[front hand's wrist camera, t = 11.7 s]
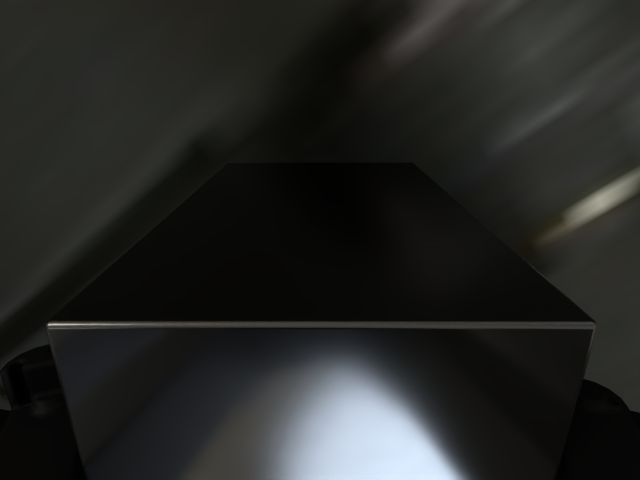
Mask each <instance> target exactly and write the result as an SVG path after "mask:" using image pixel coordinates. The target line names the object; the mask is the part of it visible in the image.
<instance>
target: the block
mask: <svg viewBox="0 0 640 480" xmlns="http://www.w3.org/2000/svg"><path fill="white" fill-rule="evenodd" d="M45 329H46V333H47V337H48V341H49V344H50V348H51V352H52V355H53V359H54V363H55V366H56V370H57V374H58V378H59V381H60V385H61V389H62V392H63V396H64V400H65V404H66V407H67V411H68V415H69V418H70V422H71V426H72V429H73V433H74V437H75V441H76V444H77V448H78V452H79V455H80V459H81V463H82V466H83V470H84V474H85V478H86V480H556V477H557V473H558V470H559V466H560V462H561V459H562V455H563V451H564V447H565V444H566V440H567V436H568V433H569V429H570V425H571V422H572V418H573V414H574V411H575V407H576V403H577V400H578V396H579V392H580V389H581V385H582V381H583V378H584V374H585V370H586V367H587V363H588V359H589V356H590V352H591V348H592V345H593V341H594V337H595V334H596V330H597V325H596V322H595V321H594V320H593V319H592V318H591V317H590V316H589V315H587V314H586V313H585V312H584V311H583V310H582V309H580V308H579V307H578V306H577V305H576V304H575V303H574V302H572V301H571V300H570V299H569V298H568V297H567V296H566V295H564V294H563V293H562V292H561V291H560V290H559V289H557V288H556V287H555V286H554V285H553V284H552V283H551V282H549V281H548V280H547V279H546V278H545V277H544V276H543V275H541V274H540V273H539V272H538V271H537V270H536V269H534V268H533V267H532V266H531V265H530V264H529V263H528V262H526V261H525V260H524V259H523V258H522V257H521V256H520V255H518V254H517V253H516V252H515V251H514V250H513V249H511V248H510V247H509V246H508V245H507V244H506V243H505V242H503V241H502V240H501V239H500V238H499V237H498V236H497V235H495V234H494V233H493V232H492V231H491V230H490V229H488V228H487V227H486V226H485V225H484V224H483V223H482V222H480V221H479V220H478V219H477V218H476V217H475V216H474V215H472V214H471V213H470V212H469V211H468V210H467V209H465V208H464V207H463V206H462V205H461V204H460V203H459V202H457V201H456V200H455V199H454V198H453V197H452V196H451V195H449V194H448V193H447V192H446V191H445V190H444V189H442V188H441V187H440V186H439V185H438V184H437V183H436V182H434V181H433V180H432V179H431V178H430V177H429V176H428V175H426V174H425V173H424V172H423V171H422V170H421V169H419V168H418V167H417V166H416V165H415V164H414V163H227V164H226V165H225V166H224V167H222V168H221V169H220V170H219V171H218V172H217V173H216V174H214V175H213V176H212V177H211V178H210V179H209V180H208V181H206V182H205V183H204V184H203V185H202V186H201V187H200V188H198V189H197V190H196V191H195V192H194V193H193V194H192V195H190V196H189V197H188V198H187V199H186V200H185V201H184V202H182V203H181V204H180V205H179V206H178V207H177V208H176V209H174V210H173V211H172V212H171V213H170V214H169V215H168V216H167V217H165V218H164V219H163V220H162V221H161V222H160V223H159V224H157V225H156V226H155V227H154V228H153V229H152V230H151V231H149V232H148V233H147V234H146V235H145V236H144V237H143V238H141V239H140V240H139V241H138V242H137V243H136V244H135V245H133V246H132V247H131V248H130V249H129V250H128V251H127V252H125V253H124V254H123V255H122V256H121V257H120V258H119V259H117V260H116V261H115V262H114V263H113V264H112V265H111V266H109V267H108V268H107V269H106V270H105V271H104V272H103V273H101V274H100V275H99V276H98V277H97V278H96V279H95V280H94V281H92V282H91V283H90V284H89V285H88V286H87V287H86V288H84V289H83V290H82V291H81V292H80V293H79V294H78V295H76V296H75V297H74V298H73V299H72V300H71V301H70V302H68V303H67V304H66V305H65V306H64V307H63V308H62V309H60V310H59V311H58V312H57V313H56V314H55V315H54V316H52V317H51V318H50V319H49V320H48V321H47V323H46V326H45Z"/></svg>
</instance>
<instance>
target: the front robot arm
mask: <svg viewBox="0 0 640 480" xmlns="http://www.w3.org/2000/svg"><path fill="white" fill-rule="evenodd" d="M0 375H1V378H2V381H3V384H4V387H5V390H6V393H7V396H8V399H9V402H10V405H11V408H12V409H11V411H8V410H2V409H0V480H86V478H85V474H84V470H83V466H82V463H81V459H80V455H79V452H78V448H77V444H76V441H75V437H74V433H73V429H72V426H71V422H70V418H69V415H68V411H67V407H66V404H65V400H64V396H63V392H62V389H61V385H60V381H59V378H58V374H57V370H56V366H55V363H54V359H53V355H52V352H51V348H50V344H49V345H45V346H41V347H37V348H34V349H32V350H29V351H27V352H25V353H22V354H20V355H19V356H17V357H15V358H14V359H12V360H11V361H9V362H8V363H7V364H6V365H5V366H4V367H3V368H2V370H1V371H0ZM556 480H640V413H638V412H634V411H630V410H629V408H628V407H627V405H626V404H625V403H624V401H623V400H622V399H621V398H620V397H619V396H617V395H616V394H615V393H614V392H612V391H611V390H610V389H608V388H606V387H604V386H602V385H600V384H598V383H595V382H592V381H589V380H586V379H583V381H582V385H581V389H580V392H579V396H578V400H577V403H576V407H575V411H574V414H573V418H572V422H571V425H570V429H569V433H568V436H567V440H566V444H565V447H564V451H563V455H562V459H561V462H560V466H559V470H558V473H557V477H556Z"/></svg>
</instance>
